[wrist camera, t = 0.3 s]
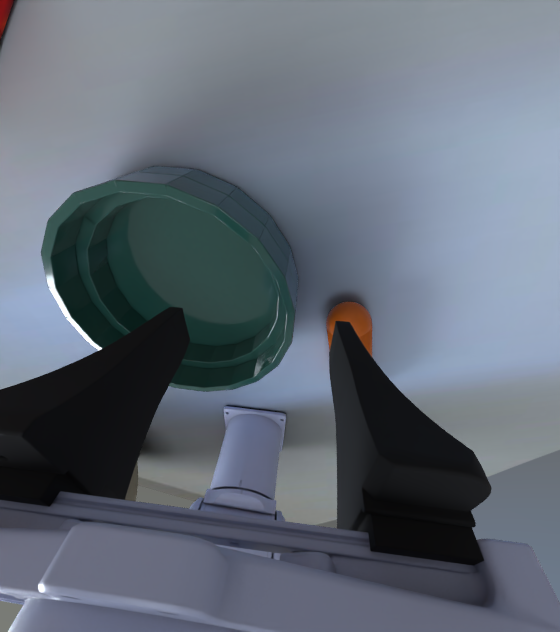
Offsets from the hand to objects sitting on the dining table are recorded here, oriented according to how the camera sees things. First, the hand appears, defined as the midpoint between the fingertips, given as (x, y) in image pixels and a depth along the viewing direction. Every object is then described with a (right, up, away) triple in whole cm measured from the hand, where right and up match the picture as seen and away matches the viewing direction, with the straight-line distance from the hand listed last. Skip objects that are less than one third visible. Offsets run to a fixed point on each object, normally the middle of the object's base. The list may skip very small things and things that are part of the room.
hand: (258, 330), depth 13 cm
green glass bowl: (-6, +4, +10) cm, 12 cm away
